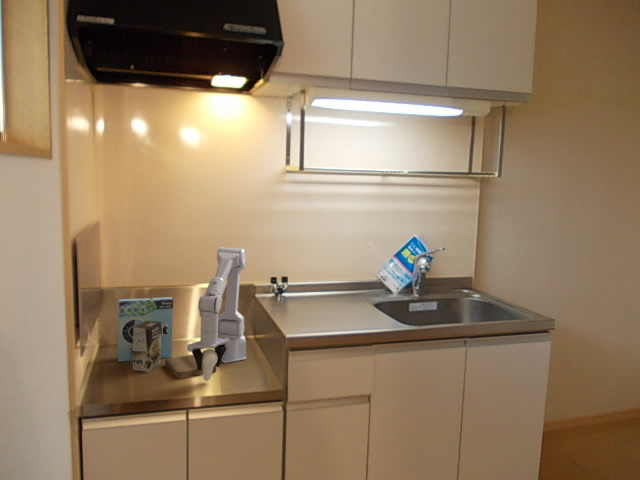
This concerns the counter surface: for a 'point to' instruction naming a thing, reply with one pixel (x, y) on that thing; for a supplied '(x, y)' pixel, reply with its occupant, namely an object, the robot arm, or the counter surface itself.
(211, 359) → the lightbulb
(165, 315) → the light blue product box
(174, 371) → the walnut base
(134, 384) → the counter surface
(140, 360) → the coffee box
